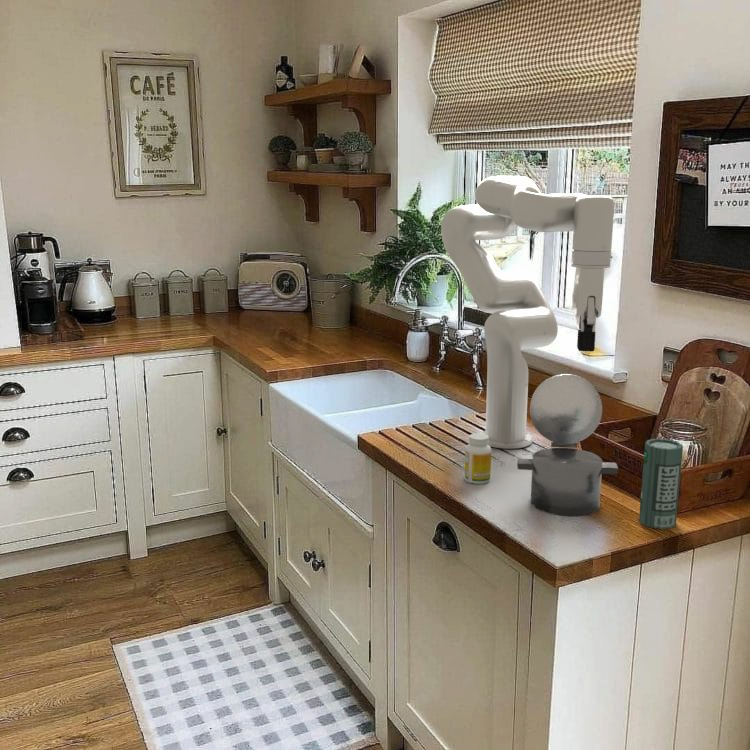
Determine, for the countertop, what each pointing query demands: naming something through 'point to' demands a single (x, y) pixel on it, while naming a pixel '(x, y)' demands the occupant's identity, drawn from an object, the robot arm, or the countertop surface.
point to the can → (660, 483)
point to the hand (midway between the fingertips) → (585, 349)
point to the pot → (566, 480)
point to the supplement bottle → (478, 459)
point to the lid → (565, 410)
